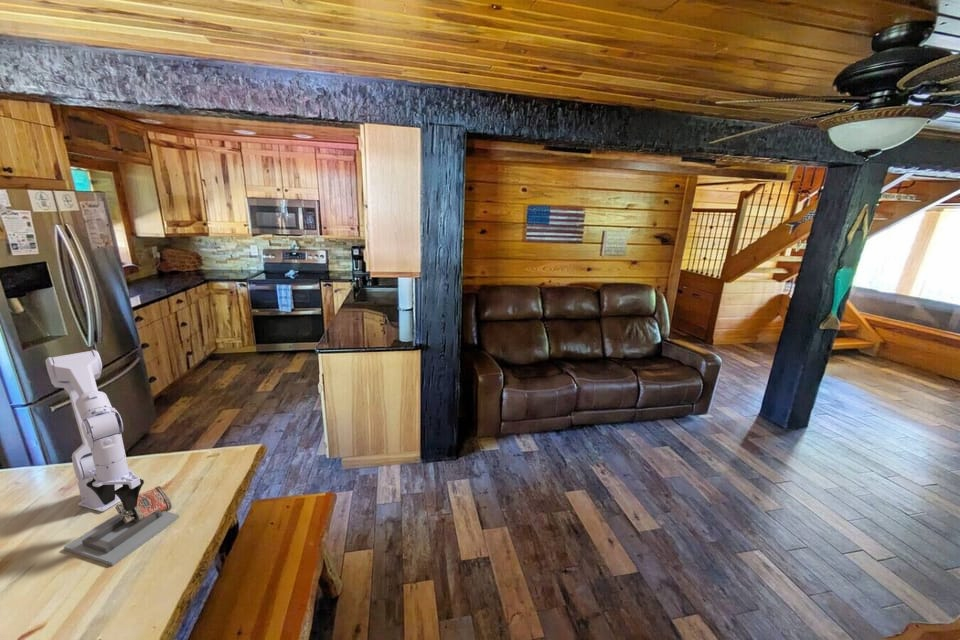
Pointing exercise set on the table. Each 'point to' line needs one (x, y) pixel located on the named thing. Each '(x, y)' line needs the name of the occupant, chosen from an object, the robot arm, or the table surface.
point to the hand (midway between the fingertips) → (120, 505)
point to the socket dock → (119, 537)
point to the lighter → (146, 505)
